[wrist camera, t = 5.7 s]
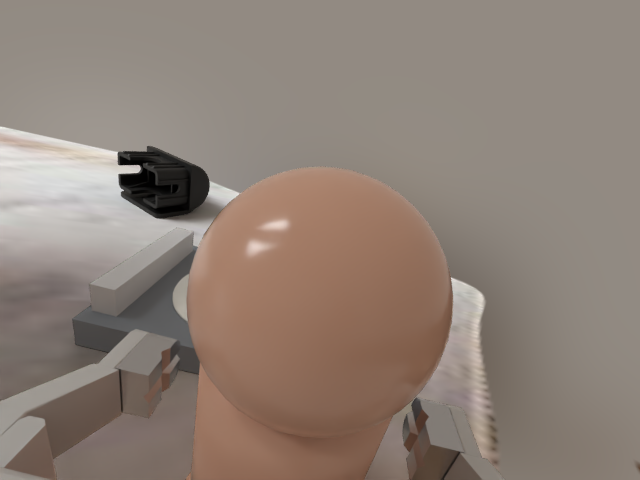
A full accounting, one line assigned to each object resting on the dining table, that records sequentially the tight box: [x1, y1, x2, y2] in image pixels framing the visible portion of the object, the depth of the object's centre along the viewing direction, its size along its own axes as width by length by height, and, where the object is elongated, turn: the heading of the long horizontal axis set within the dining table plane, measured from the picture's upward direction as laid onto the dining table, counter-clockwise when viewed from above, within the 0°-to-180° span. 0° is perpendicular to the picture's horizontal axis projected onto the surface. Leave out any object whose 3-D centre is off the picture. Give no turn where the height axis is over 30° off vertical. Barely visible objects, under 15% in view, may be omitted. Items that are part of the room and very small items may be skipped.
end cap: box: [118, 146, 210, 218], centre depth 41 cm, size 10×7×7 cm
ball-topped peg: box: [186, 167, 453, 480], centre depth 10 cm, size 7×7×15 cm
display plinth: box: [72, 228, 200, 374], centre depth 24 cm, size 16×12×4 cm
